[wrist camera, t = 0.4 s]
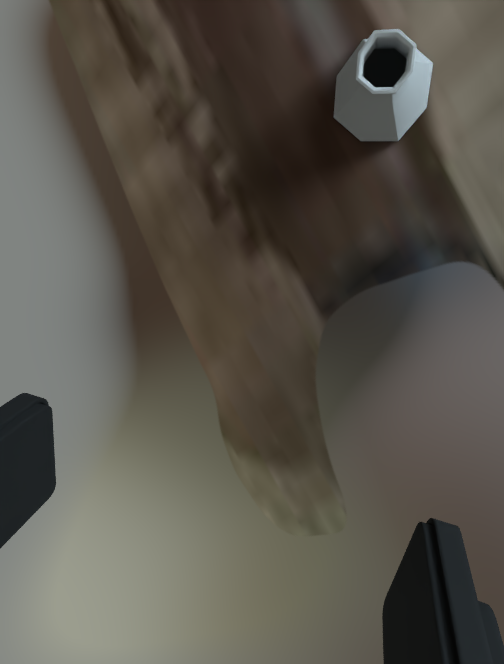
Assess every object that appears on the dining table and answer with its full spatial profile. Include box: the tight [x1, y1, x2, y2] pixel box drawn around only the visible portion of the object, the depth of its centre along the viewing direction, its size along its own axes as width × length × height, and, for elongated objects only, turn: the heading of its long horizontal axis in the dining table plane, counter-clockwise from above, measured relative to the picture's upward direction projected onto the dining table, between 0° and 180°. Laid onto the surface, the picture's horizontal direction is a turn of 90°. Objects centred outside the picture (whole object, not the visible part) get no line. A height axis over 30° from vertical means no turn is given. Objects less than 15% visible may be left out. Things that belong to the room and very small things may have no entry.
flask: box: [334, 29, 433, 141], centre depth 27 cm, size 7×7×10 cm
